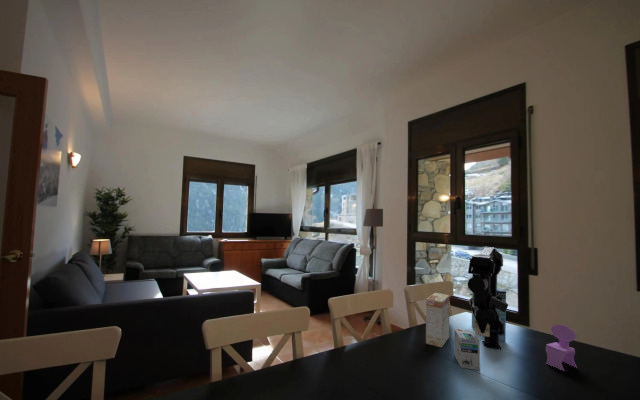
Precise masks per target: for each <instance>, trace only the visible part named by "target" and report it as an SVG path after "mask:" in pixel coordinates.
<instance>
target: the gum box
mask: <svg viewBox="0 0 640 400" xmlns="http://www.w3.org/2000/svg"><path fill="white" fill-rule="evenodd" d="M471 295H472V296H471V298H472V297H473V292H472V293H471ZM497 295H498V296H501V297H502V301H505V302H506V303H507V291H505V290H503V289H500V288H498V287H497ZM471 307H473V304H472V306H471ZM497 311H498V312H499V314H500V316H501V321H502V323H503V324H504V335H499V343H501V342H503V343H506V332H507V330H506V329H507V327H506V326H507V325H506V323H507V317H506V316H507V315H506V314H507V311H506V312H502V311H501V310H499V309H497ZM474 320H475V317H474V314H473V312H472V311H471V326H472V327H473V328H474Z"/></svg>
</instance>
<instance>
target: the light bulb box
mask: <svg viewBox="0 0 640 400" xmlns="http://www.w3.org/2000/svg"><path fill="white" fill-rule="evenodd" d="M453 333H454V334H453V335H454V338H453V339H454V343H453V344H454V345H453V346H454V357H455V359H456V361H457V363H458V364H459V367H460V368H463V369H470V370H476V371H477V370H478V371H480V369H481V368H480V367H481V361H480V360H481V356H480V351H481V349H480V348H481V347H480V346H481V344H480V343H481V341H480V339H479V338H478V337H477V335H476V334H475V333H474V332H473V331H472V330H471V329H461V328H454V332H453Z"/></svg>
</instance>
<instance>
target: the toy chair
mask: <svg viewBox="0 0 640 400" xmlns="http://www.w3.org/2000/svg"><path fill="white" fill-rule="evenodd" d="M550 329H551V332H552V334H553V336H554V337H555V338H556V339H558V342H555V341H554V342H552V343H547V344H545V353H546V356H547V358H546V359H547V360H546V362H545V365H547V364H548V365H547V366H549V365H550V367H552V366H553V367H552V368H554V367H556V368H558V369H557V370H559V369H560V370H559V371H561V370H563V371H565V372H566V370H565V368H564V366H563V364H562V362H565V363H567V364H569V365H568V366H570V365H571V366H570V367H572V366H574V367H573V368H575V367H576V368H575V369H578V366H577V364H576V362H575V358H574V357H575V355H576V349H575V348H574V347H571V346H570V343H572V342H573V341H575V340H576V339H577V334H576V333H575V331H574V330H573V329H572V328H570V326H566V325H564V324H554V325H552V326H551V328H550ZM565 363H564V364H565ZM567 364H566V365H567ZM556 368H555V369H556ZM563 371H562V372H563Z"/></svg>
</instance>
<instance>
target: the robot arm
mask: <svg viewBox="0 0 640 400" xmlns="http://www.w3.org/2000/svg"><path fill="white" fill-rule="evenodd" d="M503 266H504V258H503V254H501V252H499V251H498V250H497V248H496V247H493V246H482V250H481V252H480V253H478V254H473V255H472V256H471V257H470V259H469V264H468V271H467V272H468V273H467V274H469V275H470V274H471V275H472V277H471V278H469V280H468V281H467V288H468V289H469V291H470V292H473V297H472V296H471V298H469V299H468V300H469V303H468V304H469V306H470V309H471V313H472V312H473V314H474V317H475V320H476V321H477V323H478V326H479V329H480V331H481V333H485V329H486V326H487V323H488V324H489V326H490V337H488V336H483V340H482V341H481V342H482V345H483V348H488V349H495V350H500V351H501V350H502V347H501V346H500V342H499V335H504V324H503V323H502V321H501V316H500V314H499V312H498V311H497V309H499V310H501V311H502V312H506V313H507V310H508V306H509V304H508V302H507V301H506V302H505V301H502V297H501V296H498V295H497V288H498V275H499V274H500V272H501V271H502V267H503ZM472 304H473V307H472Z"/></svg>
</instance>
